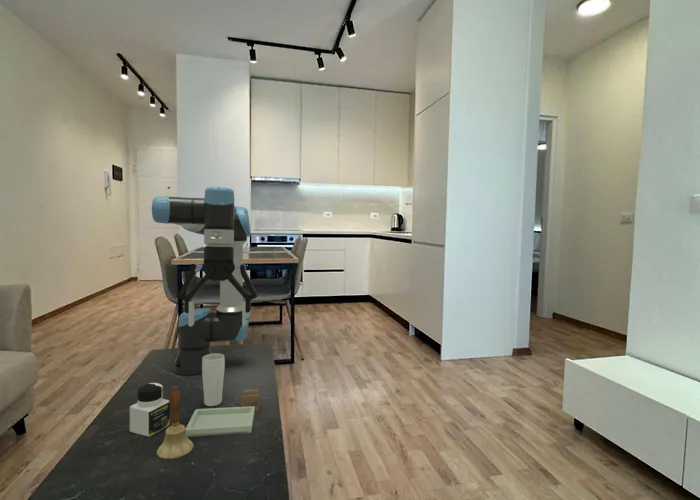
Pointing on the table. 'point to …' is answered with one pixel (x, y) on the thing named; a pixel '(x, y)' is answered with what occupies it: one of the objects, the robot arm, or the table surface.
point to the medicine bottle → (149, 411)
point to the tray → (221, 421)
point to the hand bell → (175, 432)
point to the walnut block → (250, 398)
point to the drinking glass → (213, 378)
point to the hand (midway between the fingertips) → (218, 325)
